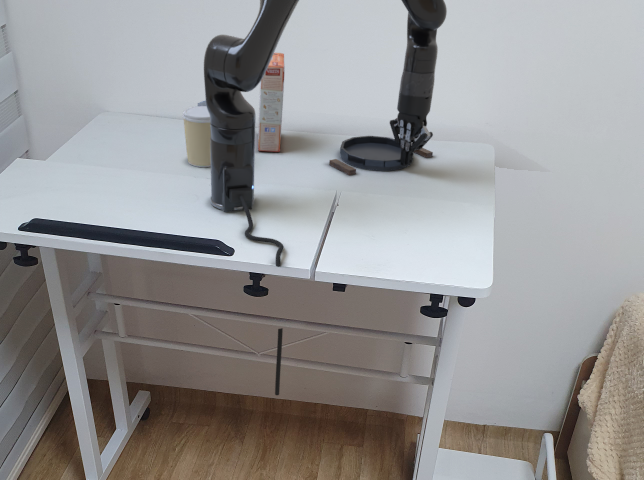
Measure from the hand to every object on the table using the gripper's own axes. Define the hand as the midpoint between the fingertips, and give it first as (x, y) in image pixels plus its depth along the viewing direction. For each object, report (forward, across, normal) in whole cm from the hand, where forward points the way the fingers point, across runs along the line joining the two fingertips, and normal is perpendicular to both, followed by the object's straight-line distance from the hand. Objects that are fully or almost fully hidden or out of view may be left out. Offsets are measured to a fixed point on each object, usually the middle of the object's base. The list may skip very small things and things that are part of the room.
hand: (405, 165), depth 174 cm
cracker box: (+2, -32, -18) cm, 37 cm away
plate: (+2, -11, 0) cm, 11 cm away
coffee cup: (+1, -29, -40) cm, 49 cm away
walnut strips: (+2, -8, 0) cm, 9 cm away
